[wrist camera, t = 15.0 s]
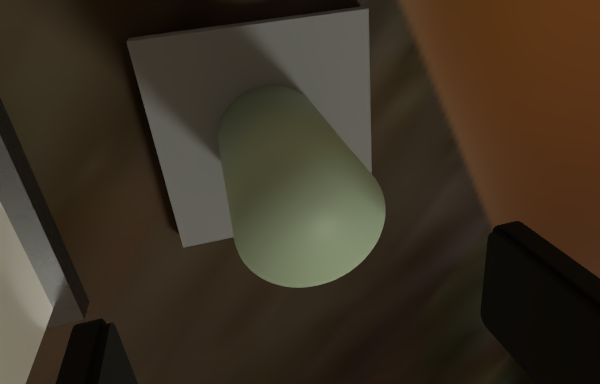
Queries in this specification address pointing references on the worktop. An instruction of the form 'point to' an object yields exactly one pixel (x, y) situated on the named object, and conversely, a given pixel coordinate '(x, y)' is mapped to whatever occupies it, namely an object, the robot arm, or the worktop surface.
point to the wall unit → (29, 264)
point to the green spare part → (295, 190)
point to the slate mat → (237, 80)
